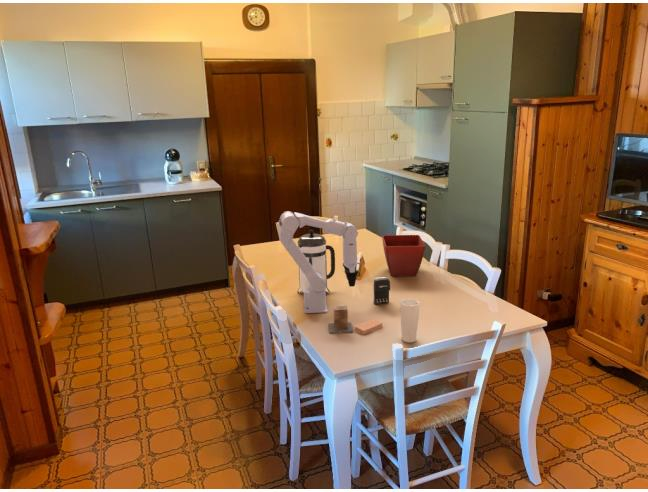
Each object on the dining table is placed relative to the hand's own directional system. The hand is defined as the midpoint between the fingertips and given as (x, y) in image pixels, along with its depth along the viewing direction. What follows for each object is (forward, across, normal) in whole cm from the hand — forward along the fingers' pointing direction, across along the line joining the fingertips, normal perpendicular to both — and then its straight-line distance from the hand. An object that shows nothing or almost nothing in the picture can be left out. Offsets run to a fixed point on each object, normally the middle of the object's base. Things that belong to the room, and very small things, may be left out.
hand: (350, 282), depth 210 cm
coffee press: (+10, +17, +15) cm, 25 cm away
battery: (+11, +1, -13) cm, 17 cm away
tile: (+10, -20, -2) cm, 23 cm away
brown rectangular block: (+10, -21, +7) cm, 24 cm away
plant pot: (+12, +38, -30) cm, 50 cm away
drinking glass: (+11, -33, -17) cm, 39 cm away
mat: (+10, -21, +7) cm, 24 cm away
